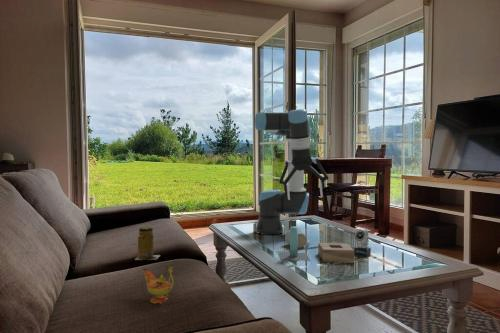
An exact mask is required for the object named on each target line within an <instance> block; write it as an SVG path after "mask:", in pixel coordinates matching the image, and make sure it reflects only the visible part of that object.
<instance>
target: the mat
mask: <svg viewBox="0 0 500 333" xmlns="http://www.w3.org/2000/svg"><path fill="white" fill-rule="evenodd" d="M277 254H278V257H279V260H280V261H303V262H304V261H309V262H310V261H311V259H310V258H309V255H308V254H307V252H298V257H290V251H289V252H288V251H287V252H286V251H284V252H281V251H280V252H279V251H278V252H277Z"/></svg>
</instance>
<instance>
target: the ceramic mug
mask: <svg viewBox="0 0 500 333" xmlns="http://www.w3.org/2000/svg"><path fill="white" fill-rule="evenodd" d="M284 240H285V242H286V244H287V245H289V246H290V229H289V230H287V231H286V233H285V236H284ZM307 241H308V240H307V236H306V235H305V234H304V233H303V232H301V231H299V230H298V249H300V248H304V247H305V246H307V247H310V245H311V244H310V242H307Z"/></svg>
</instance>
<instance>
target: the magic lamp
mask: <svg viewBox="0 0 500 333" xmlns="http://www.w3.org/2000/svg"><path fill="white" fill-rule="evenodd" d="M173 269H174V267H173V266H169V268H168V272H169V279H168V280H166V277H165V276H164V275H163V274H160V276H159V278H158V277H156V276H155V275H154V274H153V273H152V272H151V271H150V270H149V269H148V268H146V267H142V268H141V271H142V272H143V274H144V275H143V276H144V278H145V283H146V289H147V291H148V292H149V294H151V295H153V296H154V297H152V298H151V299H150V303H152V304H156V303H160V304H162V303H161V302H165V301H166V300H167V299H168V298H169V295H170V294H169V293H170V292H171V291H172V289H173V286H174V283H175V282H174V278H173V274H172V273H174V272H173ZM170 281H172V282H170ZM167 297H168V298H167ZM165 303H166V302H165Z"/></svg>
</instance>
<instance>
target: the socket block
mask: <svg viewBox="0 0 500 333" xmlns="http://www.w3.org/2000/svg"><path fill="white" fill-rule="evenodd" d="M317 246H318V249H317V252H318V256H319V257H320V258H321V260H322V262H325V263H326V262H328V263H333V262H334V263H347V264H354V263H355V255H354V248H352V246H351V245H349V244H348V243H346V242H344V243H343V242H318V245H317Z"/></svg>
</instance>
